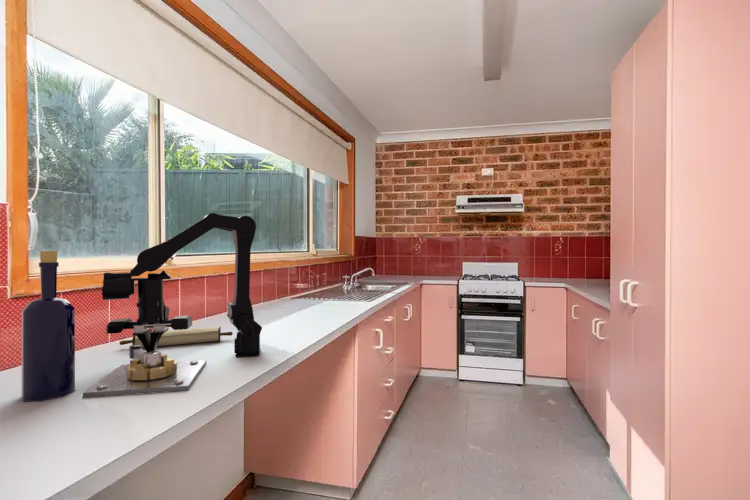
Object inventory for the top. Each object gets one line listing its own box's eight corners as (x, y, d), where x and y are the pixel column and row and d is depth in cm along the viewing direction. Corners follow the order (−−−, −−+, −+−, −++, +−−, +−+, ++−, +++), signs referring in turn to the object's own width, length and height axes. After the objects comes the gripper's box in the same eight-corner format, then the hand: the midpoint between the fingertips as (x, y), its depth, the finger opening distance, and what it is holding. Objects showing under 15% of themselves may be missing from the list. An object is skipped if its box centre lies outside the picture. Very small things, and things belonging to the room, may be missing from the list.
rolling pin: (232, 339, 135) (232, 324, 135) (233, 342, 130) (233, 327, 130) (121, 348, 122) (121, 332, 122) (117, 352, 117) (117, 335, 117)
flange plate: (206, 363, 105) (206, 341, 105) (188, 390, 85) (188, 362, 85) (122, 368, 101) (122, 345, 100) (82, 397, 81) (82, 368, 81)
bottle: (86, 389, 86) (86, 251, 86) (38, 405, 77) (38, 251, 77) (57, 384, 89) (57, 250, 89) (8, 398, 80) (8, 251, 80)
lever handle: (154, 354, 109) (154, 341, 109) (181, 373, 93) (181, 358, 93) (112, 361, 102) (112, 348, 102) (133, 383, 86) (133, 367, 86)
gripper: (196, 292, 113) (196, 347, 113) (122, 295, 108) (123, 352, 108) (186, 297, 102) (187, 357, 102) (104, 300, 98) (106, 363, 98)
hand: (151, 357), depth 103 cm, fingers closed
